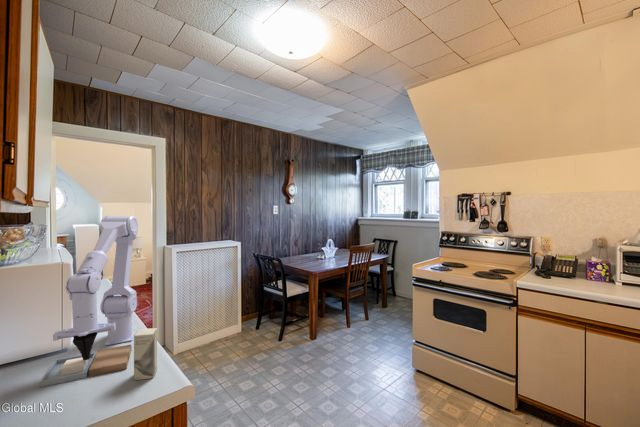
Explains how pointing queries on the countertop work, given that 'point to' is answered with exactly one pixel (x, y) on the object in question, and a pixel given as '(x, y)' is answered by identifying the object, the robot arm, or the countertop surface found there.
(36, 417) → the countertop surface
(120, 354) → the plate
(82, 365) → the tile
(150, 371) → the box
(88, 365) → the tray
